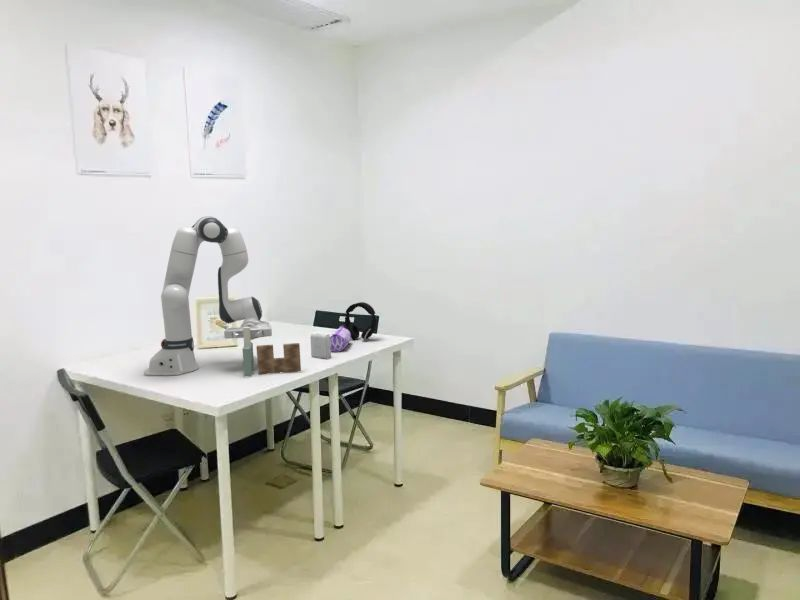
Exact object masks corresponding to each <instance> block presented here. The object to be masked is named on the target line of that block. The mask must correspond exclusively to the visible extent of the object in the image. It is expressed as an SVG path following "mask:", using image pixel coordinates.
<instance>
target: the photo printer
mask: <svg viewBox="0 0 800 600" xmlns="http://www.w3.org/2000/svg"><path fill="white" fill-rule="evenodd" d="M330 337H331V336H330V334H329V333H327V332H326V331H322V330H321V331H320V330H318V331H314V332H311V333H310V355H311V357H312V356H313V357H314V358H319V359H325V358H328V359H330V358H331V357H332V350H331V344H330ZM313 357H312V358H313Z"/></svg>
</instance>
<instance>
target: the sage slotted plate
mask: <svg viewBox="0 0 800 600" xmlns="http://www.w3.org/2000/svg"><path fill="white" fill-rule="evenodd" d="M243 336H244V338H243V346H242V364H243V374H244V376H249V377H252V376H253V373H254V371H255V360H254V359H255V357H254V345H253V342H251V341H252V340H251V338H250V327H243ZM252 371H253V372H252Z"/></svg>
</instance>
